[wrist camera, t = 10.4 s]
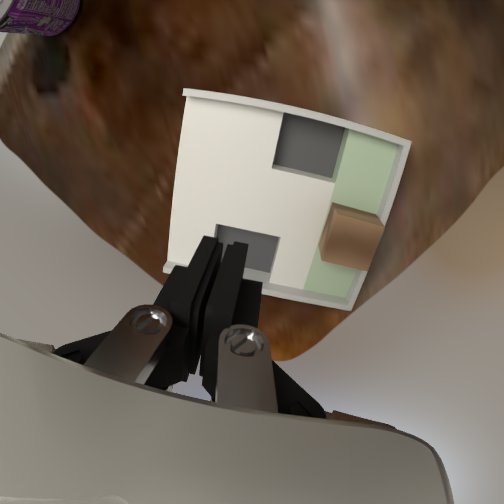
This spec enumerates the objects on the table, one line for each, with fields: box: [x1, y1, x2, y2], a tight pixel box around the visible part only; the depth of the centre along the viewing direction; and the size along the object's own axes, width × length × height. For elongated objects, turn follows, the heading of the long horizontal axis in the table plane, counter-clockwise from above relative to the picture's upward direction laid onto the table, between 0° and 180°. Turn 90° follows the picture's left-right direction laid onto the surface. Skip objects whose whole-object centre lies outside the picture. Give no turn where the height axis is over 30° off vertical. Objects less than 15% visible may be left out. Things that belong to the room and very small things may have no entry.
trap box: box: [163, 88, 411, 311], centre depth 33 cm, size 20×22×4 cm
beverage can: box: [0, 0, 80, 36], centre depth 20 cm, size 7×7×12 cm
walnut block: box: [318, 202, 385, 271], centre depth 32 cm, size 5×5×4 cm
